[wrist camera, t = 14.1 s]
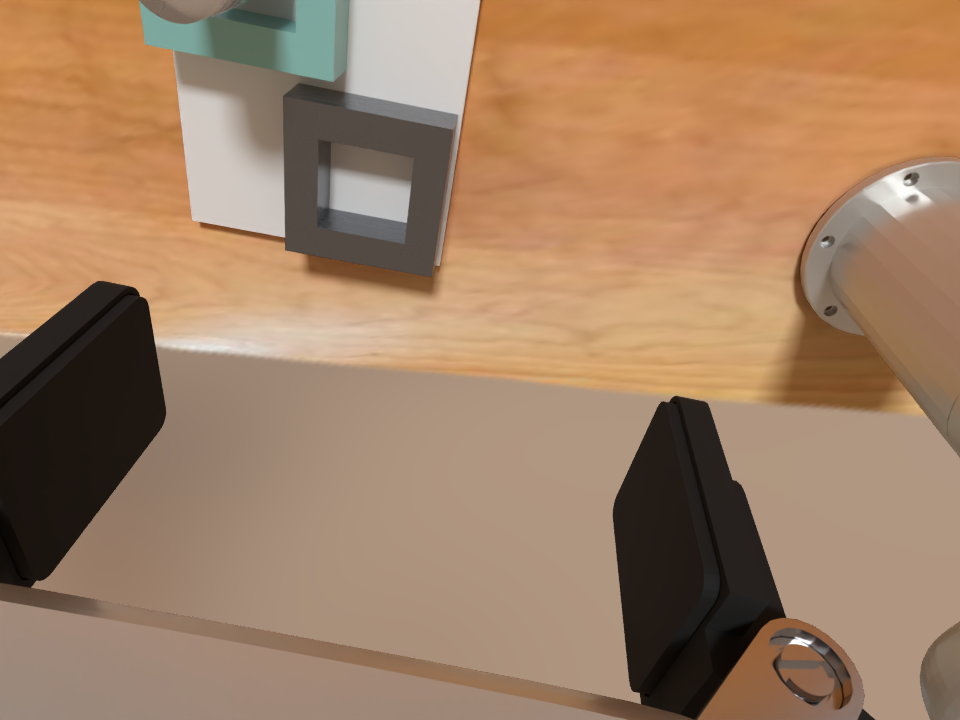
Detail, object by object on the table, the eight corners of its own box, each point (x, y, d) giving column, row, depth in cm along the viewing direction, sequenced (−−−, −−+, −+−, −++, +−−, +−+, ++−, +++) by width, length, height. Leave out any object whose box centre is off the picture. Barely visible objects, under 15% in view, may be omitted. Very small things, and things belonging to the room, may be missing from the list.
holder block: (458, 114, 37) (453, 129, 34) (437, 255, 43) (431, 277, 40) (298, 83, 36) (282, 95, 34) (298, 230, 42) (285, 250, 40)
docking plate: (501, -132, 31) (500, -133, 30) (441, 259, 44) (439, 266, 43) (153, -210, 30) (143, -212, 29) (198, 214, 43) (192, 220, 42)
